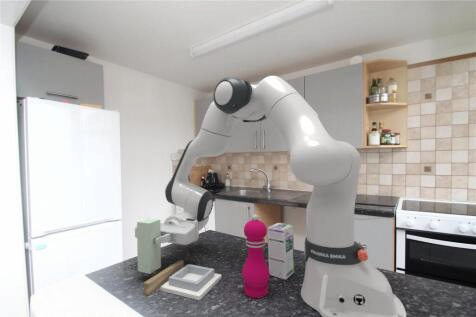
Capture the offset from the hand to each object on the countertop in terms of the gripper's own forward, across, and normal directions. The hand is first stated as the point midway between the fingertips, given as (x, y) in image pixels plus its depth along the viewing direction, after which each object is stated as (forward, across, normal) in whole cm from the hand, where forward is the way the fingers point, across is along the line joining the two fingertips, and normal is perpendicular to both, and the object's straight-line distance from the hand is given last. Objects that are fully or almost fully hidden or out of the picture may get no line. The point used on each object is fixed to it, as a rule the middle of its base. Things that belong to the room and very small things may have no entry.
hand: (146, 240), depth 69 cm
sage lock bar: (-1, 0, +8) cm, 9 cm away
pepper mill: (-6, +31, +12) cm, 33 cm away
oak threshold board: (-1, +5, +11) cm, 13 cm away
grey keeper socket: (-3, +13, +11) cm, 18 cm away
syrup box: (-18, +35, +12) cm, 41 cm away
